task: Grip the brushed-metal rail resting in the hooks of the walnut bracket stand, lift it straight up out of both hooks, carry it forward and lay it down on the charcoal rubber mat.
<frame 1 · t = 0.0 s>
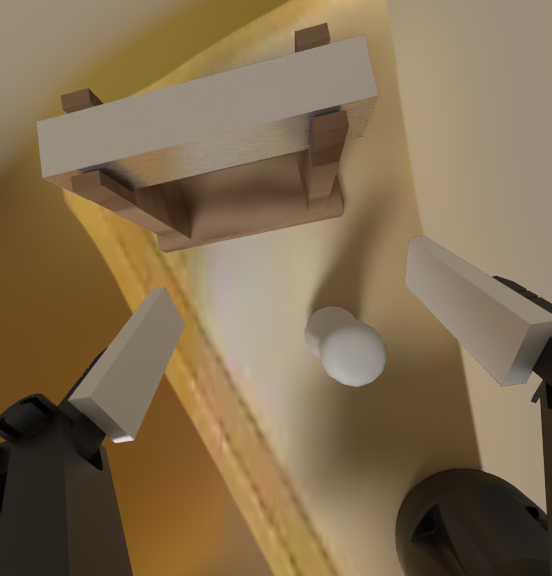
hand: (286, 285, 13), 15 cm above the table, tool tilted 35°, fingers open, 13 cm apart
salt shaker: (329, 330, 28), on the table
metal rail: (214, 145, 19), point 11 cm above the table, touching bracket stand
bracket stand: (245, 203, 30), on the table
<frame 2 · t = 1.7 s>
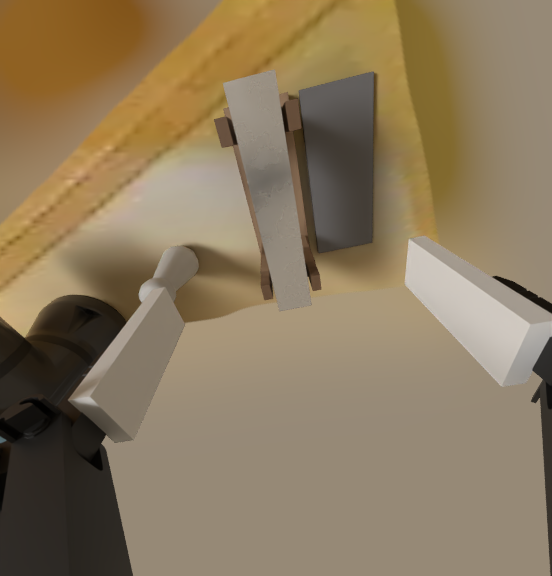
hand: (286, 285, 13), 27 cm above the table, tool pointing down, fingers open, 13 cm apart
salt shaker: (184, 256, 41), on the table
metal rail: (276, 211, 27), point 11 cm above the table, touching bracket stand
rubber mat: (340, 177, 35), on the table
bracket stand: (273, 192, 36), on the table
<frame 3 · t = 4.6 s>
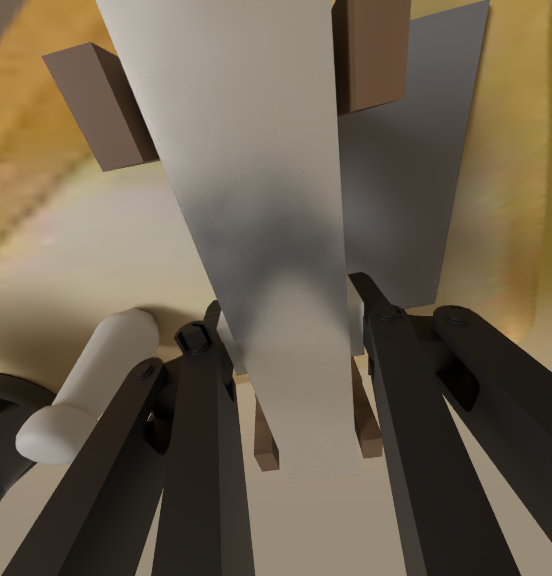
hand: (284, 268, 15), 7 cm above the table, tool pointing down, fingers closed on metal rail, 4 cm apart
salt shaker: (140, 321, 26), on the table
metal rail: (288, 301, 12), point 11 cm above the table, touching bracket stand, gripper
rubber mat: (394, 205, 20), on the table
bracket stand: (279, 229, 21), on the table
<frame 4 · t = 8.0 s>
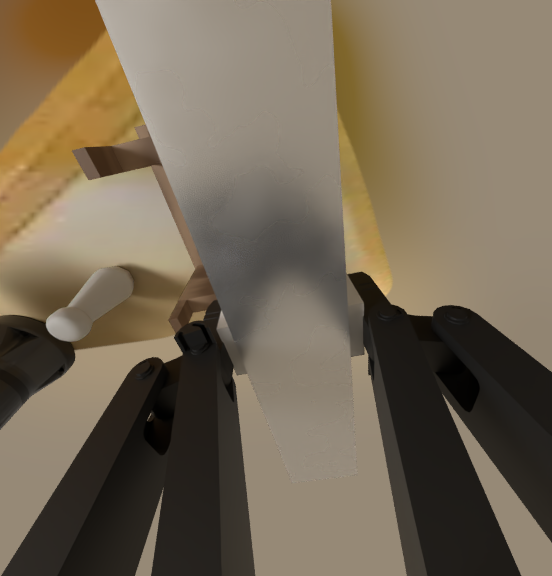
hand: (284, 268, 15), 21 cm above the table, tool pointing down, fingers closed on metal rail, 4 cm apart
salt shaker: (120, 277, 39), on the table
metal rail: (288, 301, 12), point 25 cm above the table, touching gripper
bracket stand: (205, 212, 34), on the table
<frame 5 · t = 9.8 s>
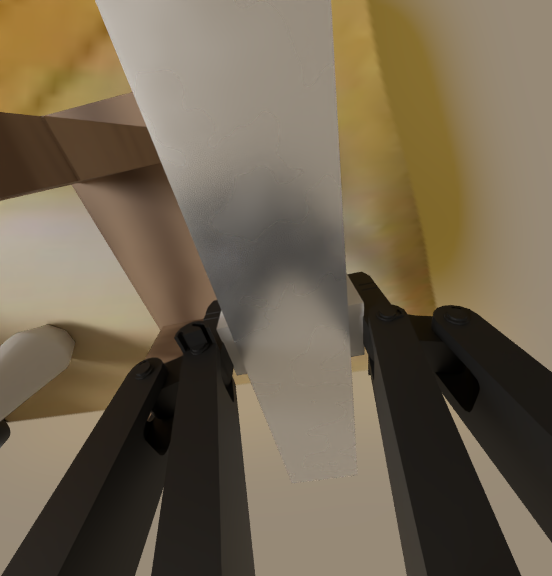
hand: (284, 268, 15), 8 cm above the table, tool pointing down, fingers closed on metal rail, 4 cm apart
salt shaker: (56, 337, 27), on the table
metal rail: (288, 301, 12), point 11 cm above the table, touching gripper
bracket stand: (170, 252, 22), on the table
when the fingers open (1 cm above the table, at t = 11.5 s): metal rail drops 4 cm, resting on rubber mat.
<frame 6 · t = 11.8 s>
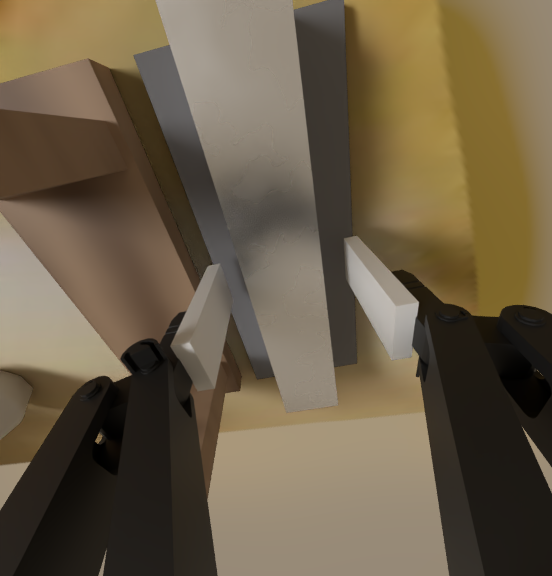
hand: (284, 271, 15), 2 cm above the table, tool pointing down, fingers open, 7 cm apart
salt shaker: (9, 382, 22), on the table
metal rail: (283, 262, 16), point 1 cm above the table, touching rubber mat
rubber mat: (283, 258, 16), on the table
bracket stand: (144, 286, 17), on the table
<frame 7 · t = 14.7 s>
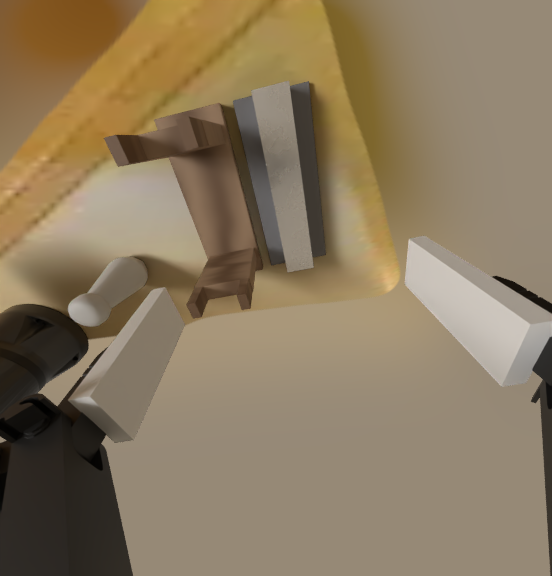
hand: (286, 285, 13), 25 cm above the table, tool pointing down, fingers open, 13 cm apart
salt shaker: (135, 267, 40), on the table
metal rail: (286, 190, 34), point 1 cm above the table, touching rubber mat
rubber mat: (286, 189, 34), on the table
bracket stand: (218, 204, 35), on the table
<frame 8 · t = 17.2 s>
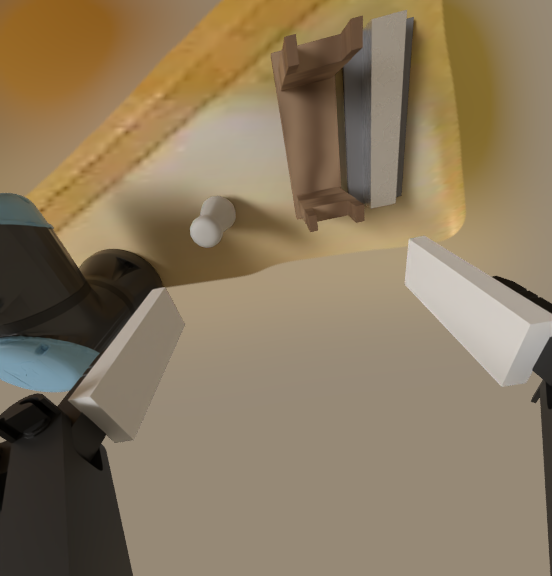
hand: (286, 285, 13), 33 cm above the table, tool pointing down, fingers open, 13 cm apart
salt shaker: (221, 209, 43), on the table
metal rail: (376, 127, 37), point 1 cm above the table, touching rubber mat
rubber mat: (374, 127, 37), on the table
bracket stand: (310, 143, 38), on the table
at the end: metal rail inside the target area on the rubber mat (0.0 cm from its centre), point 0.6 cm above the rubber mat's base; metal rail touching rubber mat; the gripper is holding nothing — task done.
